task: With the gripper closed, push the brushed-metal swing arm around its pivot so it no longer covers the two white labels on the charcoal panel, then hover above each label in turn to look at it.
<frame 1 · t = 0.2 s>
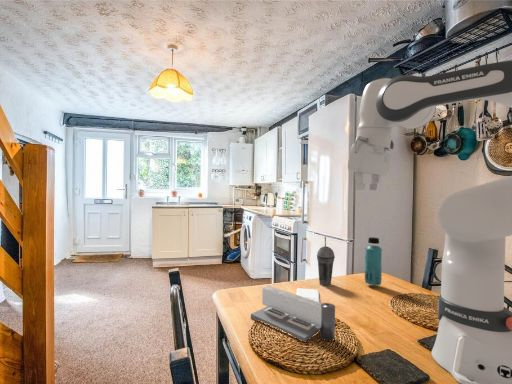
hand: (366, 190, 78), 39 cm above the table, tool pointing down, fingers open, 8 cm apart
cable arm: (296, 309, 78), point 4 cm above the table, hinge at 0.0°
beverage bottle: (372, 286, 112), on the table
label panel: (292, 319, 81), on the table
external hard drive: (307, 299, 99), on the table
beverage cup: (325, 284, 114), on the table
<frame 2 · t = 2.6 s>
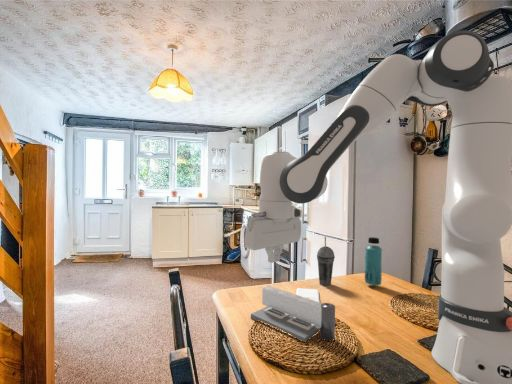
hand: (273, 261, 76), 19 cm above the table, tool pointing down, fingers closed
nothing on the table moved.
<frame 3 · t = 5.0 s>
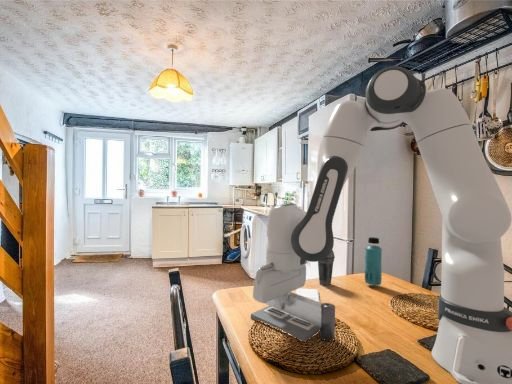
hand: (280, 309, 78), 5 cm above the table, tool pointing down, fingers closed
cable arm: (297, 309, 78), point 4 cm above the table, hinge at -2.5°, touching gripper
everything else where it was.
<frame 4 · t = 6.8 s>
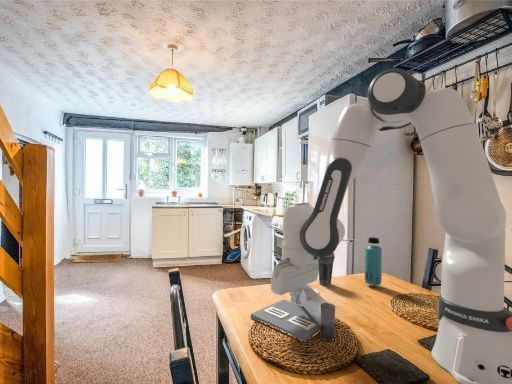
hand: (295, 301, 84), 5 cm above the table, tool pointing down, fingers closed
cable arm: (312, 306, 81), point 4 cm above the table, hinge at -35.3°, touching gripper
everything else where it was.
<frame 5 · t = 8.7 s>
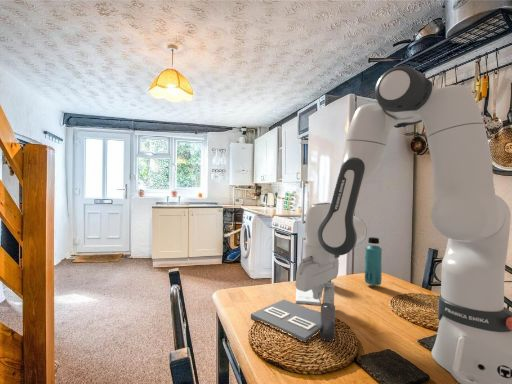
hand: (317, 298, 86), 5 cm above the table, tool pointing down, fingers closed
cable arm: (328, 306, 81), point 4 cm above the table, hinge at -62.6°, touching gripper
everything else where it was.
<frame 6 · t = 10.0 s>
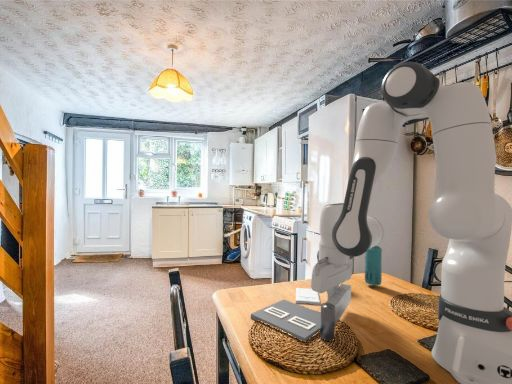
hand: (332, 299, 85), 5 cm above the table, tool pointing down, fingers closed
cable arm: (337, 308, 80), point 4 cm above the table, hinge at -77.0°, touching gripper
everything else where it was.
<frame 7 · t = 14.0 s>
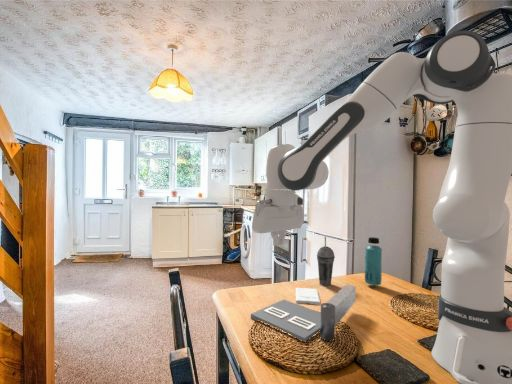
hand: (278, 245, 83), 22 cm above the table, tool pointing down, fingers closed
cable arm: (339, 308, 79), point 4 cm above the table, hinge at -80.7°
everything else where it was.
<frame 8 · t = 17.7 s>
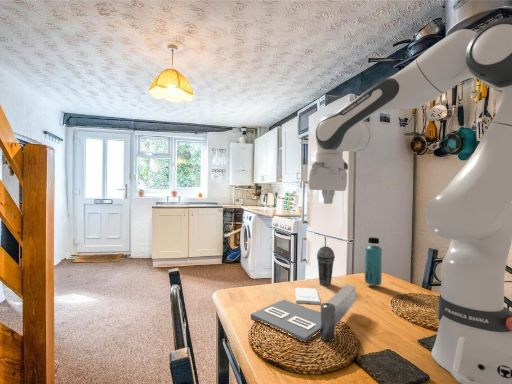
hand: (328, 203, 95), 34 cm above the table, tool pointing down, fingers closed
nothing on the table moved.
at the end: cable arm at -81° (first picture: +0°); external hard drive moved 1.3 cm from its start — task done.
